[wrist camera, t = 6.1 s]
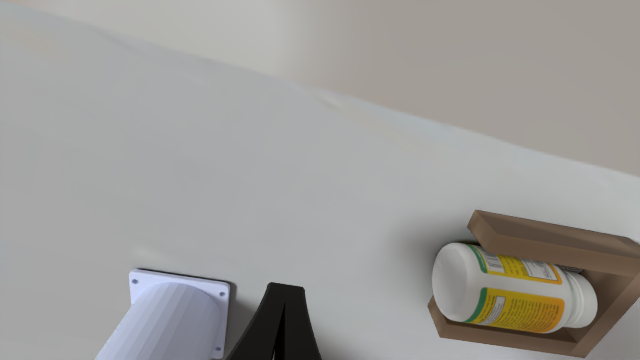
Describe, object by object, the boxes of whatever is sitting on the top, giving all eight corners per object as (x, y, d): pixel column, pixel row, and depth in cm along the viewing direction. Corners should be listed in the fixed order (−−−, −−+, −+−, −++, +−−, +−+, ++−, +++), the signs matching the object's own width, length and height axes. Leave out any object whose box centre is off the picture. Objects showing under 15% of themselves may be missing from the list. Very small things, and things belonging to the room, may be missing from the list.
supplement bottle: (466, 235, 20) (598, 255, 21) (429, 247, 25) (536, 263, 26) (472, 324, 18) (618, 343, 19) (430, 318, 23) (546, 333, 24)
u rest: (558, 326, 27) (584, 357, 25) (427, 306, 26) (439, 337, 23) (627, 237, 23) (668, 264, 20) (475, 209, 22) (497, 234, 19)
